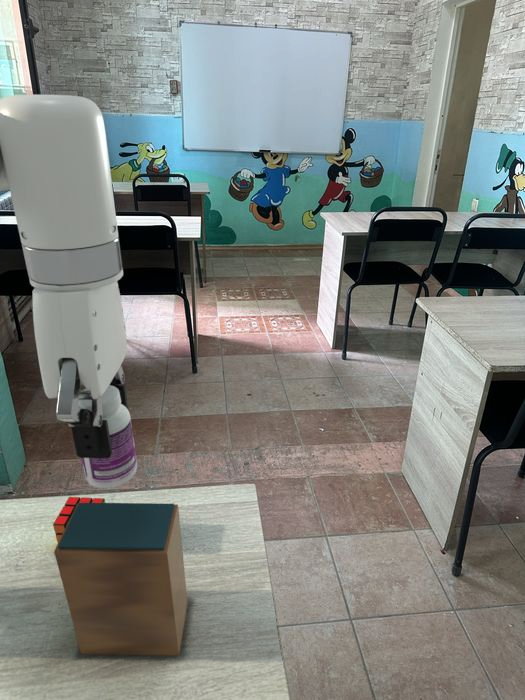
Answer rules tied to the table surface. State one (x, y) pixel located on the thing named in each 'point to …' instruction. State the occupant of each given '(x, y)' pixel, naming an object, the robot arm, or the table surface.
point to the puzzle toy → (70, 513)
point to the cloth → (118, 526)
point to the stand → (127, 596)
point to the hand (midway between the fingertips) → (104, 434)
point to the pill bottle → (112, 444)
